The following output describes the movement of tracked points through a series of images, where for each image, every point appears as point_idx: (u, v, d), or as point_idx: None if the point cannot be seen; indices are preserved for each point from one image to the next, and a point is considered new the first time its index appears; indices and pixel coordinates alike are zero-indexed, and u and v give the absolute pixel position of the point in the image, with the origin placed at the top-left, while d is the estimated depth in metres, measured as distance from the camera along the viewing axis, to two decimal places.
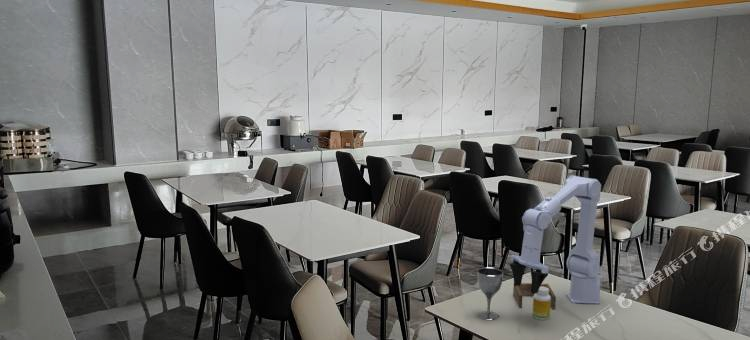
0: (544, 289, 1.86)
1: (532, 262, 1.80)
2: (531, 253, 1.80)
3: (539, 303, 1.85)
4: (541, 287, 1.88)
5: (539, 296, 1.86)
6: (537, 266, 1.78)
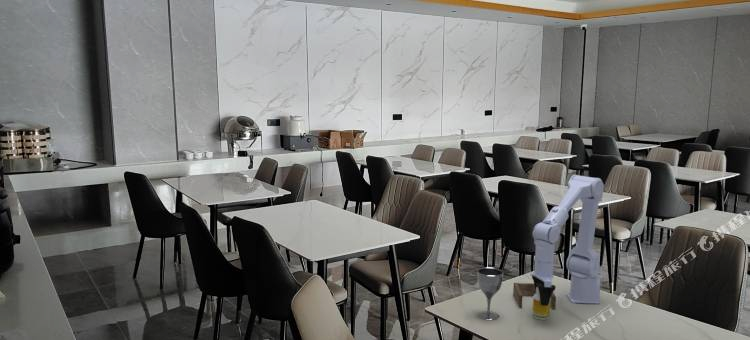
0: None
1: (540, 275, 1.83)
2: (539, 266, 1.83)
3: (539, 303, 1.85)
4: None
5: (539, 296, 1.86)
6: (542, 279, 1.81)
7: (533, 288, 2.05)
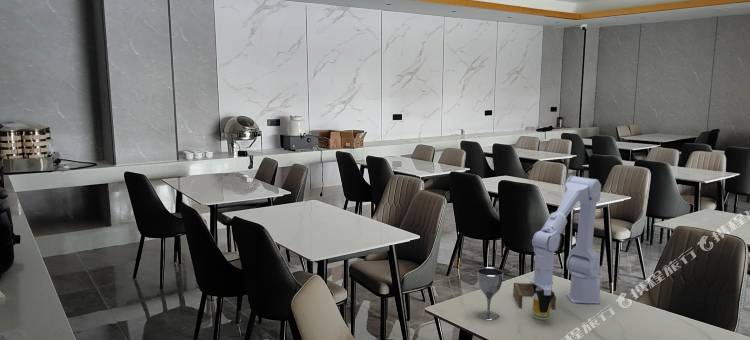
0: None
1: (540, 283, 1.84)
2: (538, 274, 1.84)
3: None
4: None
5: None
6: (541, 287, 1.82)
7: None
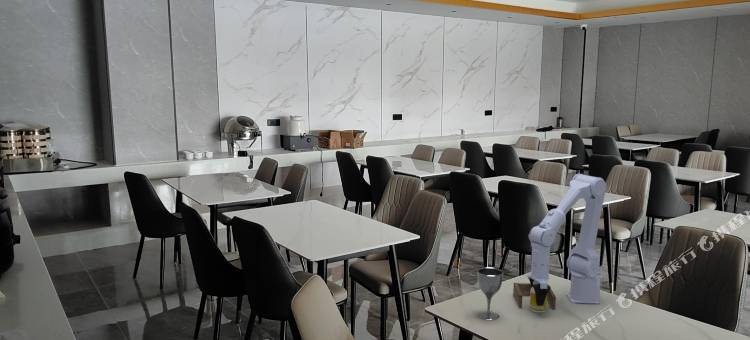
0: None
1: (536, 277, 1.89)
2: (535, 268, 1.89)
3: None
4: None
5: None
6: (538, 281, 1.87)
7: None
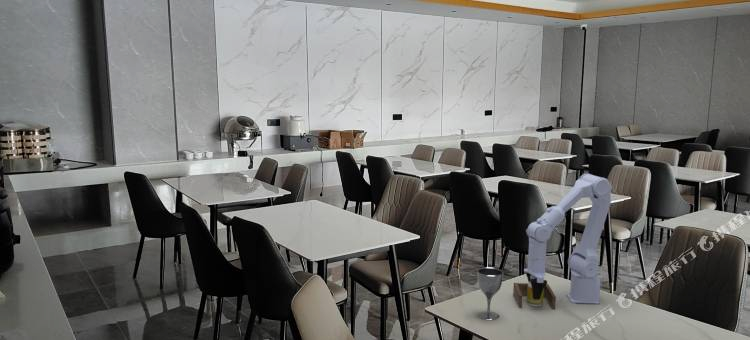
0: None
1: (533, 271, 1.95)
2: (532, 263, 1.95)
3: None
4: None
5: None
6: (534, 275, 1.92)
7: None
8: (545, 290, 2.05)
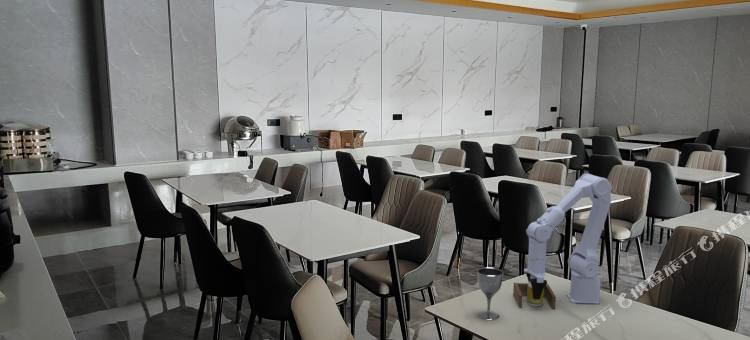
0: None
1: (533, 271, 1.95)
2: (532, 263, 1.95)
3: None
4: None
5: None
6: (534, 275, 1.93)
7: None
8: (545, 290, 2.05)
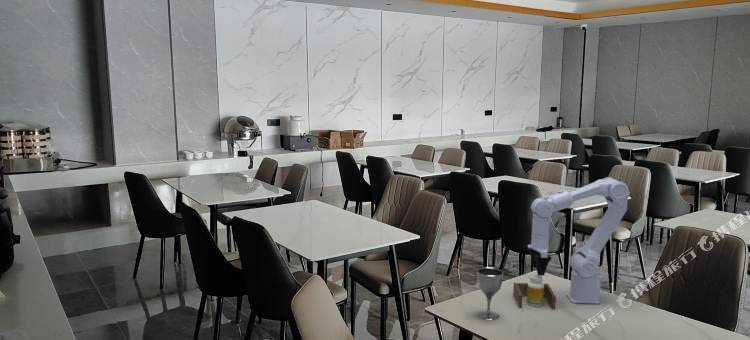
0: (537, 277, 1.97)
1: (537, 247, 1.97)
2: (536, 239, 1.97)
3: (532, 290, 1.96)
4: (535, 275, 1.98)
5: (533, 284, 1.96)
6: (538, 251, 1.95)
7: None
8: (545, 290, 2.05)
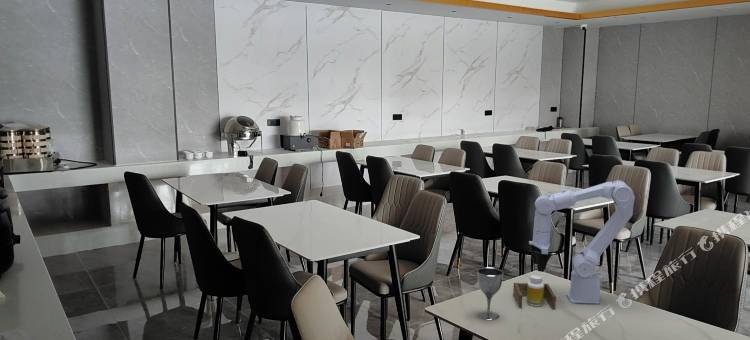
0: (537, 277, 1.97)
1: (538, 243, 2.01)
2: (537, 235, 2.01)
3: (532, 290, 1.96)
4: (535, 275, 1.98)
5: (533, 284, 1.96)
6: (539, 247, 1.98)
7: None
8: (545, 290, 2.05)
